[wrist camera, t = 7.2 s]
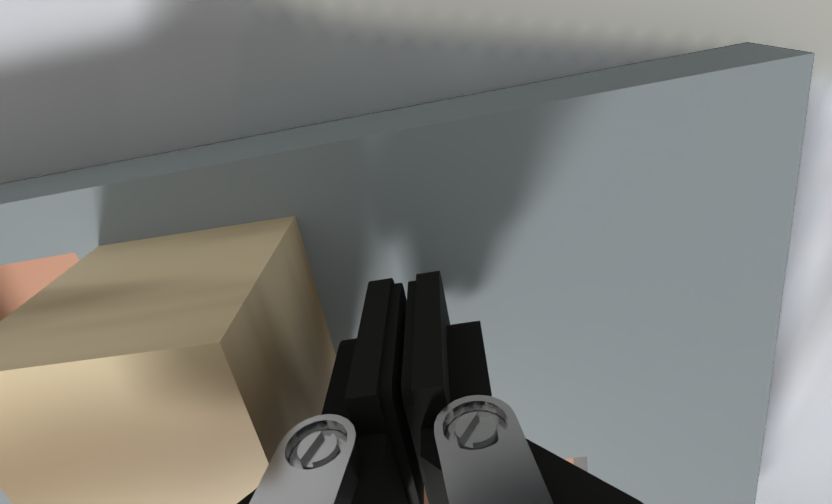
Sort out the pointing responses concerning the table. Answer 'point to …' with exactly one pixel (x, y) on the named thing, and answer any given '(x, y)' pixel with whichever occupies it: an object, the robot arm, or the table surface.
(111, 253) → the beech cube
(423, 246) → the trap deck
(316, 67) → the table surface
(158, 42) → the table surface
